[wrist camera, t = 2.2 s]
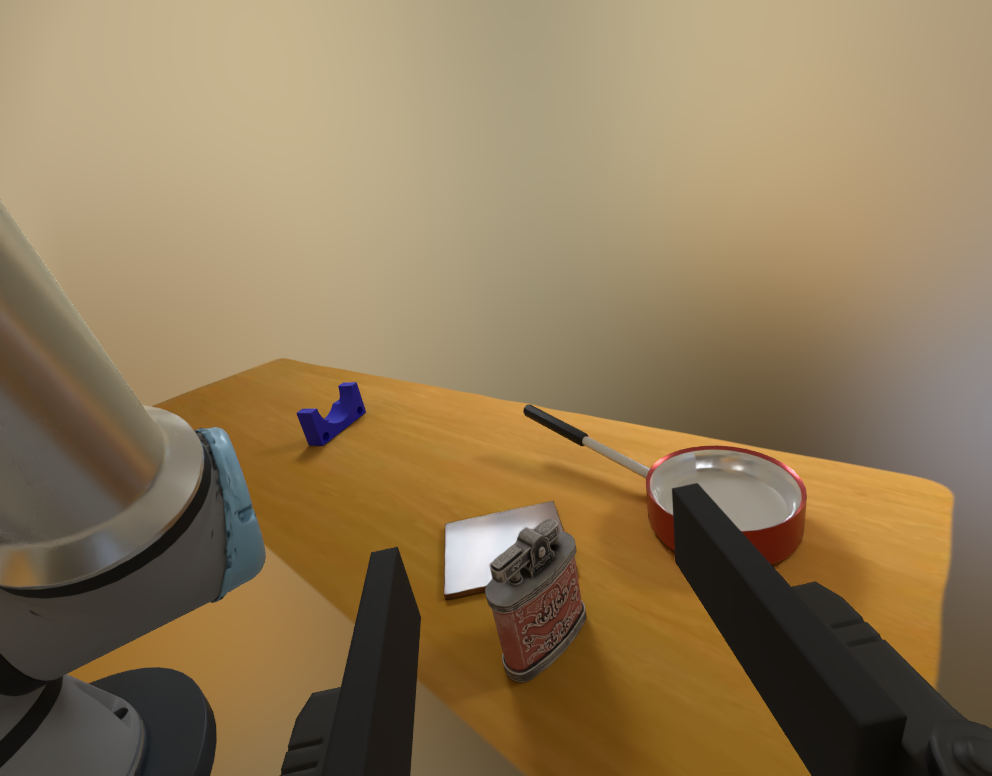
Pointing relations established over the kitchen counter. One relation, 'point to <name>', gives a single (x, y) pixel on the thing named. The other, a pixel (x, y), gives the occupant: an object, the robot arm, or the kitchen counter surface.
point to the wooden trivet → (485, 545)
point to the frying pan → (715, 488)
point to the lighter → (536, 599)
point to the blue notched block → (332, 416)
